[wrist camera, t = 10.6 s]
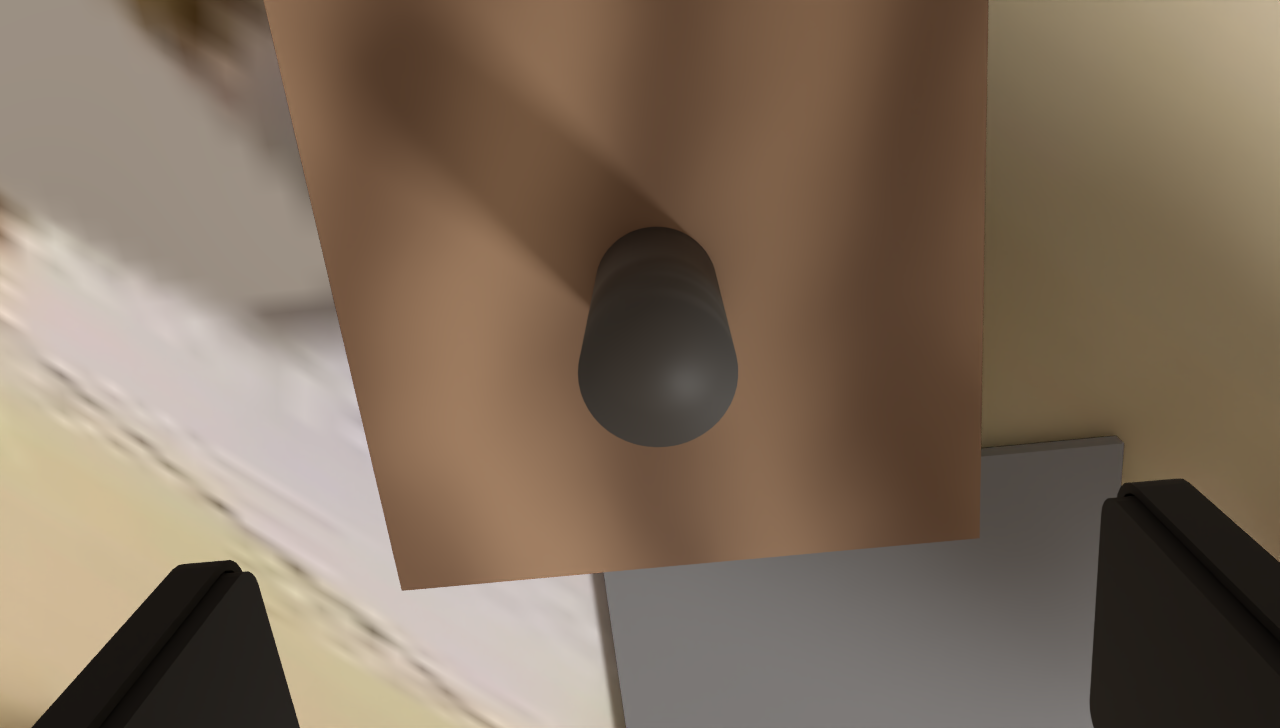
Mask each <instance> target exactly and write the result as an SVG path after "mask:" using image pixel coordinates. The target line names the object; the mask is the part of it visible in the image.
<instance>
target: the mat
mask: <svg viewBox="0 0 1280 728" xmlns="http://www.w3.org/2000/svg"><path fill="white" fill-rule="evenodd" d="M1123 454H1124V443H1123V442H1122V441H1121V440H1120V439H1119V438H1118V437H1117V436H1107V437H1097V438H1086V439H1076V440H1065V441H1055V442H1044V443H1034V444H1023V445H1012V446H1002V447H991V448H981V486H980V538H977V539H966V540H955V541H944V542H933V543H922V544H911V545H900V546H889V547H878V548H867V549H856V550H845V551H834V552H823V553H812V554H801V555H790V556H779V557H768V558H757V559H746V560H735V561H724V562H712V563H701V564H690V565H679V566H668V567H657V568H646V569H635V570H624V571H613V572H604V579H605V586H606V593H607V600H608V607H609V614H610V621H611V627H612V634H613V641H614V648H615V655H616V662H617V669H618V676H619V682H620V689H621V696H622V703H623V710H624V717H625V724H626V728H1094V727H1093V723H1092V719H1091V714H1090V701H1089V700H1090V684H1091V668H1092V652H1093V636H1094V620H1095V604H1096V588H1097V572H1098V556H1099V540H1100V524H1101V511H1102V506H1103V503H1104V501H1105V500H1106V499H1107V498H1116V497H1117V494H1118V492H1119V489H1120V487H1121V480H1122V467H1123Z"/></svg>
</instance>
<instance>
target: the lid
mask: <svg viewBox="0 0 1280 728" xmlns="http://www.w3.org/2000/svg"><path fill="white" fill-rule="evenodd" d="M264 5H265V9H266V13H267V18H268V22H269V26H270V30H271V35H272V39H273V43H274V47H275V52H276V56H277V60H278V64H279V69H280V73H281V77H282V82H283V86H284V90H285V94H286V99H287V103H288V107H289V111H290V116H291V120H292V124H293V128H294V133H295V137H296V141H297V145H298V150H299V154H300V158H301V163H302V167H303V171H304V175H305V180H306V184H307V188H308V192H309V197H310V201H311V205H312V209H313V214H314V218H315V222H316V226H317V231H318V235H319V239H320V243H321V247H322V252H323V256H324V260H325V265H326V269H327V273H328V278H329V282H330V286H331V290H332V295H333V299H334V303H335V307H336V312H337V316H338V320H339V325H340V329H341V333H342V337H343V342H344V346H345V350H346V354H347V359H348V363H349V367H350V371H351V376H352V380H353V384H354V389H355V393H356V397H357V401H358V406H359V410H360V414H361V418H362V423H363V427H364V431H365V435H366V440H367V444H368V448H369V452H370V457H371V461H372V465H373V470H374V474H375V478H376V482H377V487H378V491H379V495H380V499H381V504H382V508H383V512H384V516H385V521H386V525H387V529H388V533H389V538H390V542H391V546H392V551H393V555H394V559H395V563H396V568H397V572H398V576H399V580H400V585H401V589H402V591H404V590H415V589H426V588H437V587H448V586H459V585H470V584H481V583H492V582H503V581H514V580H525V579H536V578H547V577H558V576H569V575H580V574H591V573H602V572H613V571H624V570H635V569H646V568H657V567H668V566H679V565H690V564H701V563H712V562H724V561H735V560H746V559H757V558H768V557H779V556H790V555H801V554H812V553H823V552H834V551H845V550H856V549H867V548H878V547H889V546H900V545H911V544H922V543H933V542H944V541H955V540H966V539H977V538H980V486H981V424H982V363H983V302H984V241H985V179H986V118H987V57H988V0H264Z"/></svg>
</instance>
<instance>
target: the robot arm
mask: <svg viewBox="0 0 1280 728" xmlns="http://www.w3.org/2000/svg"><path fill="white" fill-rule="evenodd" d="M1089 701H1090V714H1091V719H1092V723H1093V727H1094V728H1280V562H1278V561H1277V560H1276V559H1275V558H1274V557H1273V556H1272V555H1270V554H1269V553H1268V552H1267V551H1266V550H1265V549H1264V548H1263V547H1261V546H1260V545H1259V544H1258V543H1257V542H1256V541H1255V540H1253V539H1252V538H1251V537H1250V536H1249V535H1248V534H1247V533H1246V532H1244V531H1243V530H1242V529H1241V528H1240V527H1239V526H1238V525H1236V524H1235V523H1234V522H1233V521H1232V520H1231V519H1230V518H1229V517H1227V516H1226V515H1225V514H1224V513H1223V512H1222V511H1221V510H1219V509H1218V508H1217V507H1216V506H1215V505H1214V504H1213V503H1212V502H1210V501H1209V500H1208V499H1207V498H1206V497H1205V496H1204V495H1202V494H1201V493H1200V492H1199V491H1198V490H1197V489H1196V488H1195V487H1193V486H1192V485H1191V484H1190V483H1189V482H1187V481H1185V480H1184V479H1167V480H1156V481H1144V482H1133V483H1125V484H1123V485H1122V486H1121V487H1120V489H1119V492H1118V494H1117V497H1116V498H1107V499H1106V500H1105V501H1104V503H1103V506H1102V511H1101V524H1100V540H1099V556H1098V572H1097V588H1096V604H1095V620H1094V636H1093V652H1092V668H1091V684H1090V700H1089ZM32 728H300V727H299V723H298V720H297V716H296V713H295V709H294V706H293V703H292V699H291V696H290V692H289V689H288V685H287V682H286V678H285V675H284V671H283V668H282V664H281V661H280V658H279V654H278V651H277V647H276V644H275V640H274V637H273V633H272V630H271V626H270V623H269V620H268V616H267V613H266V609H265V606H264V602H263V599H262V595H261V592H260V588H259V585H258V582H257V580H256V578H255V576H254V575H253V574H252V573H250V572H248V571H247V572H242V570H241V568H240V567H239V566H238V564H237V563H236V562H234V561H231V560H226V561H214V562H202V563H191V564H182V565H178V566H177V567H176V568H174V569H173V570H172V571H171V572H170V573H169V574H168V575H167V577H166V578H165V579H164V580H163V581H162V582H161V583H160V584H159V585H158V587H157V588H156V589H155V590H154V591H153V592H152V593H151V594H150V596H149V597H148V598H147V599H146V600H145V601H144V602H143V603H142V604H141V606H140V607H139V608H138V609H137V610H136V611H135V612H134V613H133V615H132V616H131V617H130V618H129V619H128V620H127V621H126V622H125V624H124V625H123V626H122V627H121V628H120V629H119V630H118V631H117V632H116V634H115V635H114V636H113V637H112V638H111V639H110V640H109V641H108V643H107V644H106V645H105V646H104V647H103V648H102V649H101V650H100V652H99V653H98V654H97V655H96V656H95V657H94V658H93V659H92V660H91V662H90V663H89V664H88V665H87V666H86V667H85V668H84V669H83V671H82V672H81V673H80V674H79V675H78V676H77V677H76V678H75V679H74V681H73V682H72V683H71V684H70V685H69V686H68V687H67V688H66V690H65V691H64V692H63V693H62V694H61V695H60V696H59V697H58V699H57V700H56V701H55V702H54V703H53V704H52V705H51V706H50V707H49V709H48V710H47V711H46V712H45V713H44V714H43V715H42V716H41V718H40V719H39V720H38V721H37V722H36V723H35V724H34V725H33V727H32Z"/></svg>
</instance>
